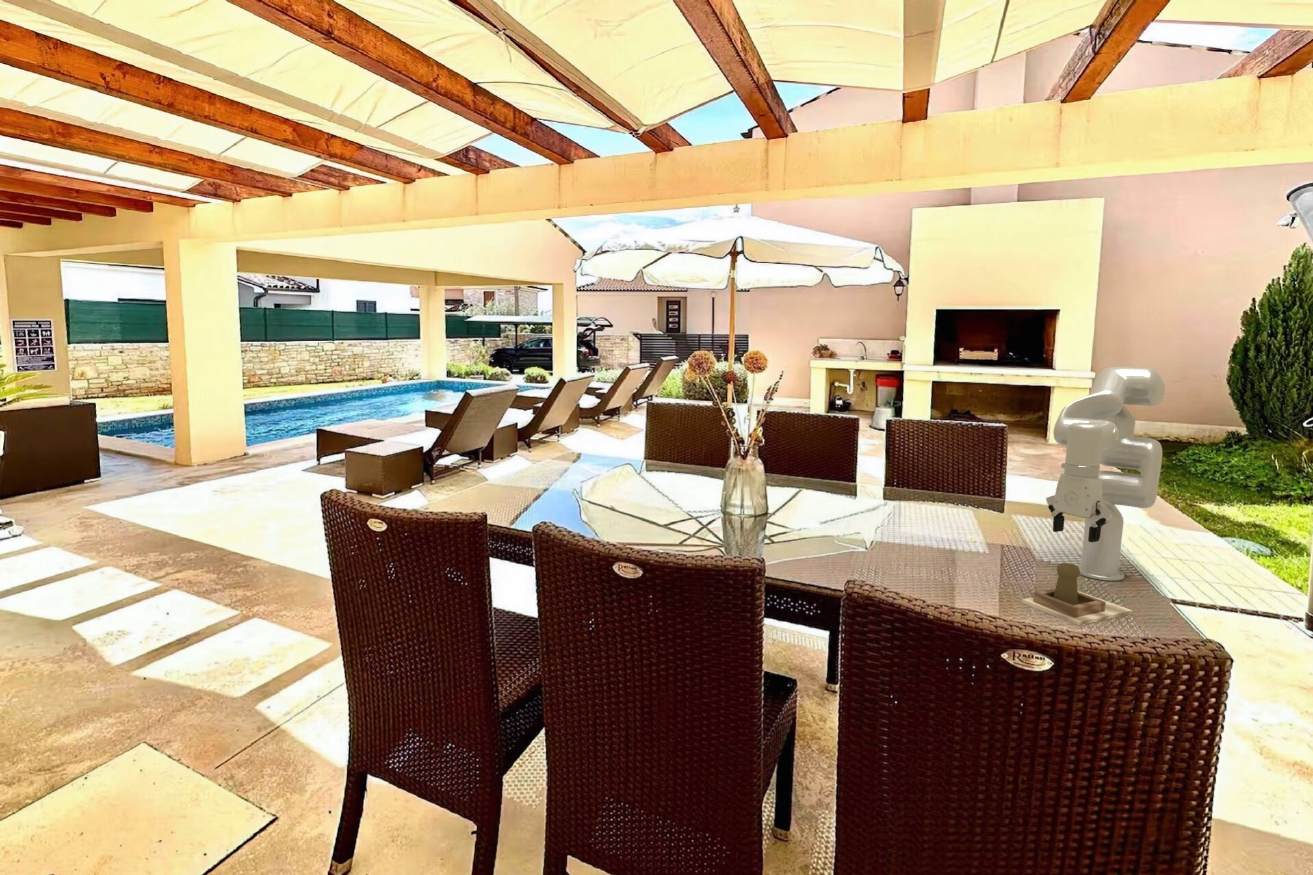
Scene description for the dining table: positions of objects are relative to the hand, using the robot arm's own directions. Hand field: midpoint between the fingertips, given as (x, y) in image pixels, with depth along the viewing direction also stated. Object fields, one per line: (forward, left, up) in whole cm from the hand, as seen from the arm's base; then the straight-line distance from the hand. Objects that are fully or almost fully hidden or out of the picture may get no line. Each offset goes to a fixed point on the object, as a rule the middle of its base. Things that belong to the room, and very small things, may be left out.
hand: (1075, 536), depth 175 cm
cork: (0, -1, -19) cm, 19 cm away
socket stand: (-3, 0, -20) cm, 20 cm away
